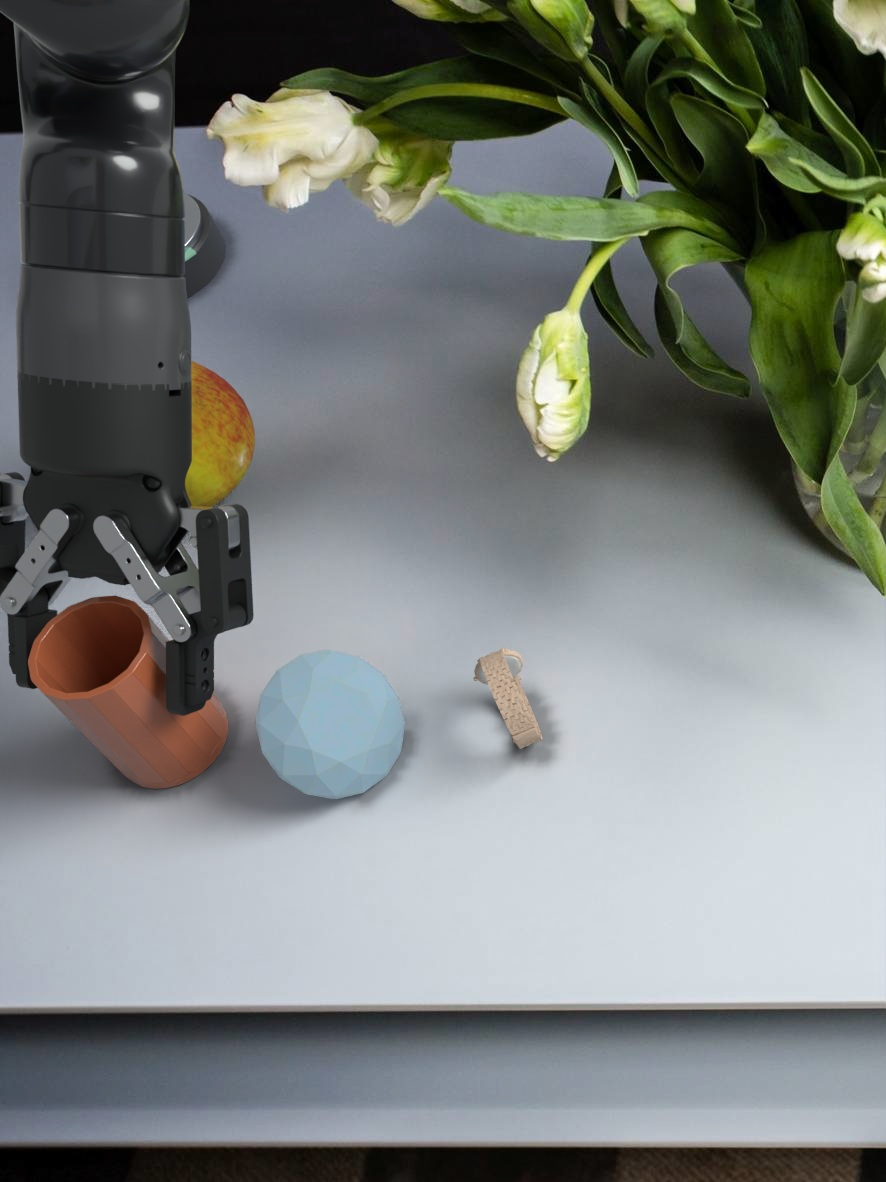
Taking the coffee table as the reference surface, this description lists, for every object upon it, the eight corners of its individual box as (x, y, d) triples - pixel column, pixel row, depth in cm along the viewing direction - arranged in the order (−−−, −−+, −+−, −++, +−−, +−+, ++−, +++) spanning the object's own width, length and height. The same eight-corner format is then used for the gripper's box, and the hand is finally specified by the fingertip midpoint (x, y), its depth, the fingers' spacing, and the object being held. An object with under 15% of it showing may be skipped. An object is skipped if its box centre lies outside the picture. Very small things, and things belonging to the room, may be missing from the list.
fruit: (161, 416, 99) (97, 322, 92) (298, 425, 98) (242, 330, 91) (98, 542, 94) (25, 452, 88) (240, 554, 93) (177, 464, 86)
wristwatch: (534, 681, 86) (507, 628, 82) (562, 751, 83) (536, 700, 79) (486, 701, 86) (457, 649, 81) (513, 772, 83) (485, 722, 79)
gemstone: (199, 734, 82) (228, 720, 78) (303, 633, 86) (335, 615, 82) (309, 837, 85) (342, 829, 81) (406, 734, 89) (442, 721, 85)
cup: (156, 810, 84) (68, 721, 77) (96, 744, 87) (5, 652, 79) (250, 734, 86) (173, 640, 78) (189, 672, 89) (109, 575, 81)
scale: (143, 329, 104) (121, 295, 101) (76, 271, 107) (53, 237, 105) (250, 255, 106) (231, 220, 104) (181, 201, 110) (161, 166, 107)
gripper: (-84, 354, 75) (-68, 694, 79) (188, 388, 72) (190, 739, 76) (33, 350, 82) (42, 662, 86) (285, 381, 79) (282, 703, 83)
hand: (111, 698), depth 81 cm, fingers open, 8 cm apart
